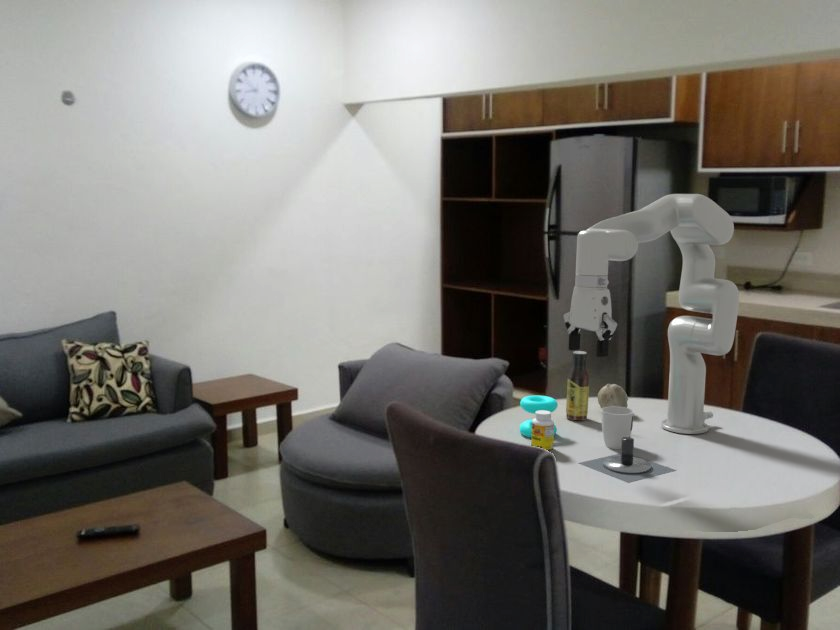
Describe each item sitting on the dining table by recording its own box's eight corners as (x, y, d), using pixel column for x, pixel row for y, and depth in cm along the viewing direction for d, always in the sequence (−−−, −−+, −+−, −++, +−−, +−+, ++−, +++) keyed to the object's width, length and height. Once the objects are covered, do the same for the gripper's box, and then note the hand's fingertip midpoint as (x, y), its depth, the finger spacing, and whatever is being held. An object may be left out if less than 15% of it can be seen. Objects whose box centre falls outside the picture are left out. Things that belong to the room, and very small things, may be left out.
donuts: (520, 402, 217) (519, 393, 227) (519, 439, 219) (519, 428, 229) (558, 403, 216) (556, 394, 226) (557, 440, 218) (555, 430, 228)
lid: (625, 456, 203) (626, 429, 202) (660, 468, 193) (662, 441, 192) (593, 464, 197) (594, 436, 196) (627, 477, 188) (629, 448, 187)
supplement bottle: (526, 449, 210) (527, 410, 208) (545, 447, 212) (546, 408, 210) (538, 455, 205) (540, 416, 203) (557, 453, 207) (558, 413, 205)
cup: (635, 453, 207) (637, 414, 206) (603, 452, 207) (604, 414, 206) (628, 443, 215) (629, 406, 214) (597, 443, 215) (598, 406, 214)
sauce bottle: (563, 416, 242) (565, 349, 239) (583, 415, 242) (586, 349, 240) (569, 422, 235) (571, 354, 232) (590, 421, 236) (593, 353, 233)
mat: (625, 454, 206) (625, 452, 206) (676, 472, 193) (676, 470, 193) (578, 465, 197) (578, 463, 197) (628, 485, 184) (628, 482, 184)
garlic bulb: (625, 423, 244) (636, 394, 240) (598, 419, 243) (608, 390, 238) (616, 406, 252) (626, 378, 248) (590, 402, 251) (600, 374, 247)
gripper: (629, 285, 190) (625, 358, 193) (578, 278, 205) (575, 346, 207) (605, 286, 186) (601, 360, 189) (555, 279, 201) (552, 348, 203)
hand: (587, 353), depth 198 cm, fingers open, 9 cm apart
